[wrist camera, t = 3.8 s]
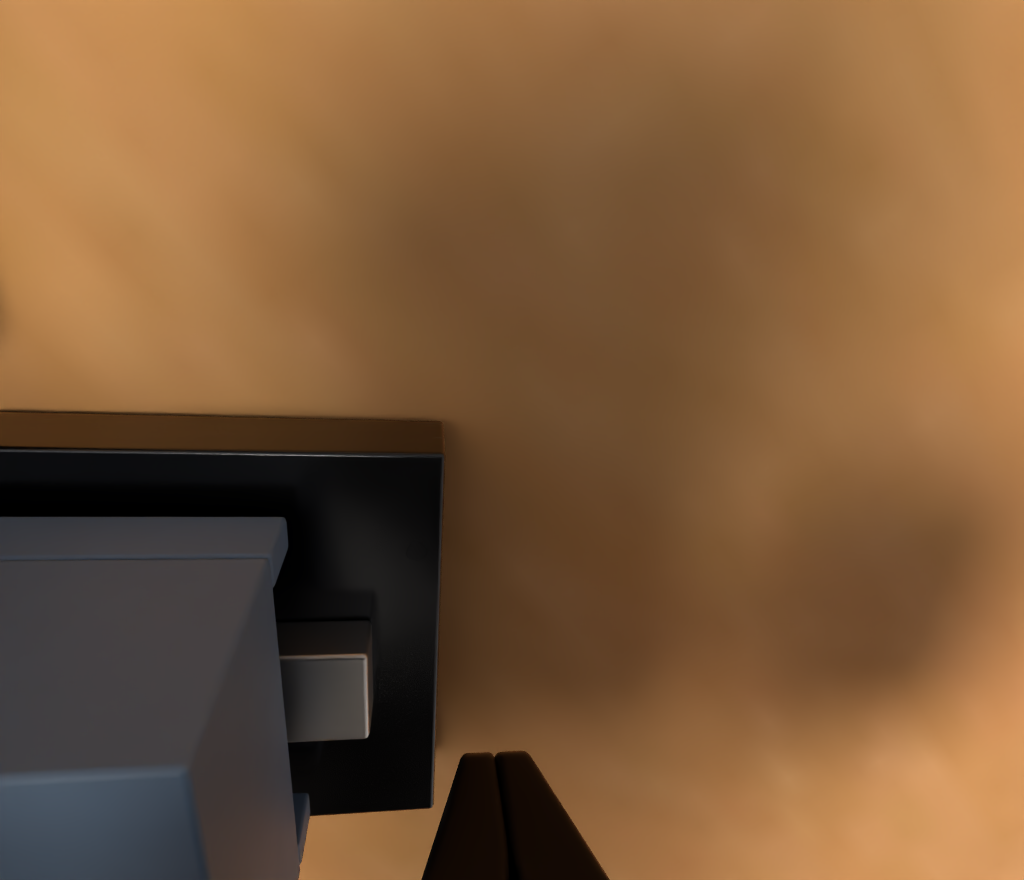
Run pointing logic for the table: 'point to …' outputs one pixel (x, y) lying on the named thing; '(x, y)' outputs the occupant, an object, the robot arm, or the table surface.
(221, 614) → the blue cube with peg
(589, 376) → the table surface
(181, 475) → the rail
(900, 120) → the table surface
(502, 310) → the table surface
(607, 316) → the table surface
